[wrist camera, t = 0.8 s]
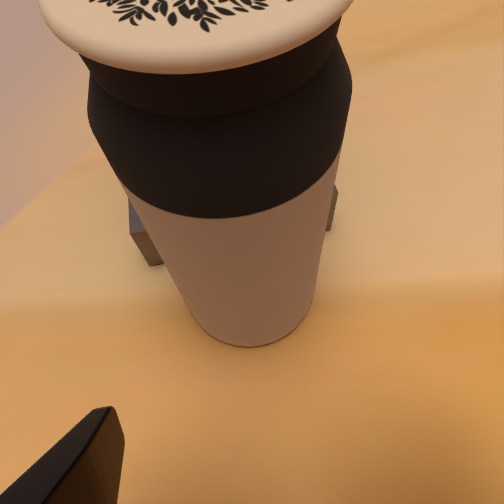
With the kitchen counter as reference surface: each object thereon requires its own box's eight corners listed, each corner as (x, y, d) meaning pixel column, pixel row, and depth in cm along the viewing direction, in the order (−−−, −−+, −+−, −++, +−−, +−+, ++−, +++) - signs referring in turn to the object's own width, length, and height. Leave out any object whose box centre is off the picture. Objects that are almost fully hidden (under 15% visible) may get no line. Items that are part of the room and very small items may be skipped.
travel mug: (231, 376, 22) (109, 126, 6) (165, 274, 25) (-19, -50, 9) (339, 299, 23) (459, -42, 8) (264, 214, 27) (244, -136, 11)
